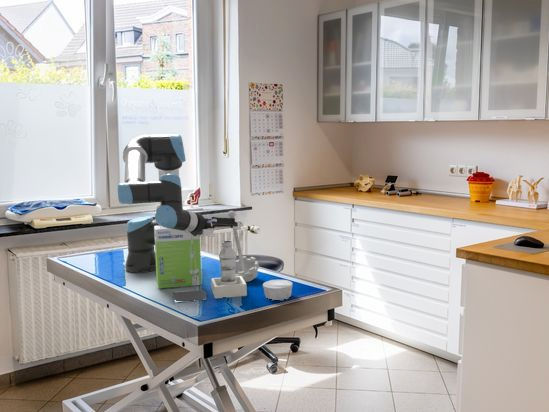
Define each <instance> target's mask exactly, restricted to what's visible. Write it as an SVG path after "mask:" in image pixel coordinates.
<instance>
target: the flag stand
mask: <svg viewBox="0 0 549 412" xmlns="http://www.w3.org/2000/svg"><path fill="white" fill-rule="evenodd" d="M227 216H228V218H236V212H235V211H234V210H230V211H228V213H227ZM232 232H233V236H234V240H235V241H234V242H235V246H236V249H237V250H236V251H237V255H238V259H236V263H235V275H236V276H242V278H243V279H244V281H245V283H248V282H251V281H253V280H254V279H256V277H257V276H258V270H259V268H260V265H259V260H257V259H256V257H253V256H250V257H249V258H248V257H247V255H243V253H242V248H241V243H240V239H239V235H238V234H239V233H238V229H234V228H232Z"/></svg>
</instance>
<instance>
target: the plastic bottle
mask: <svg viewBox="0 0 549 412" xmlns="http://www.w3.org/2000/svg"><path fill="white" fill-rule="evenodd" d="M221 247H222V248H221V250H220V252H219V254H218V257H219V264H220V278H221V281H220V286H221V285H233V284H237V281H236V275H235V263H236V261H237V254H236V251H235V250H234V248H233V241H232V240H223V241H221Z"/></svg>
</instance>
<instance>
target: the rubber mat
mask: <svg viewBox="0 0 549 412" xmlns="http://www.w3.org/2000/svg"><path fill="white" fill-rule="evenodd" d="M172 295H174V296H173V301H174V300H176V301H191V302H195V301H194V300H202V301H204V300H203V299H207V300H208V297H207V294H206V291H205V289H195V290H187V291H175V292H173V293H172Z"/></svg>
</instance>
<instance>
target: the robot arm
mask: <svg viewBox="0 0 549 412" xmlns="http://www.w3.org/2000/svg"><path fill="white" fill-rule="evenodd" d="M122 160H123V162H124V181H123V182H120V183H118V184H117V199H118V200H117V201H118V202H119V204H121V205H134V204H136V205H137V204H151V203H153V204H155V203H160V206H158V207H157V208H156V211H155V213H154V218H153V216H151V215H149V216H148V215H147V216H141V217H140V216H139V217H136V218H133V219H130V220H128V221H127V223H126V234H127V235H126V236H127V253H128V254H127V257H126V261H125V263H124V267H125V269H126V270H128V271H132V272H131V273H147V272H146V271H149V272H152V271H156V257H155V236H154V226H163V227H166V228H169V229H170V228H171V229H176V230H181V231H185V232H186V233H187V232H190V233H191V234H192V235H193V236H197V234H198V235H200V236H205V237H210V238H214V237H215V233H214V230H213V229H215V228H221V227H222V228H223V227H224V228H225V227H226V228H230V229H233V228H234V229H237V231H238V230H242V224H241V222H239V221H236V217H234V218H230V217H217V216H212V217H211V218H207V217H206V218H205V217H204V215H203V214H201V213H198V212H195V211H190V210H187V209H183V194H182V189H183V187H182V183H181V181H182V180H181V177H180V172H179V171H180V170H179V169H181V167H182V166H183V163H184V162H186V154H185V148H184V143H183V138H182V136H181V134H179V133H176V134H175V133H168V134H167V133H165V134H164V133H163V134H143V135H139V136H137V137H135V138H133V139H132V140H130V141H129V142H128V143H127V144H126V145H125V147H124V148H123V151H122ZM146 164H154V167H155V169H157V171H158V181H157V180H156V181H146ZM126 270H125V271H126ZM128 271H127V272H128Z"/></svg>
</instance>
